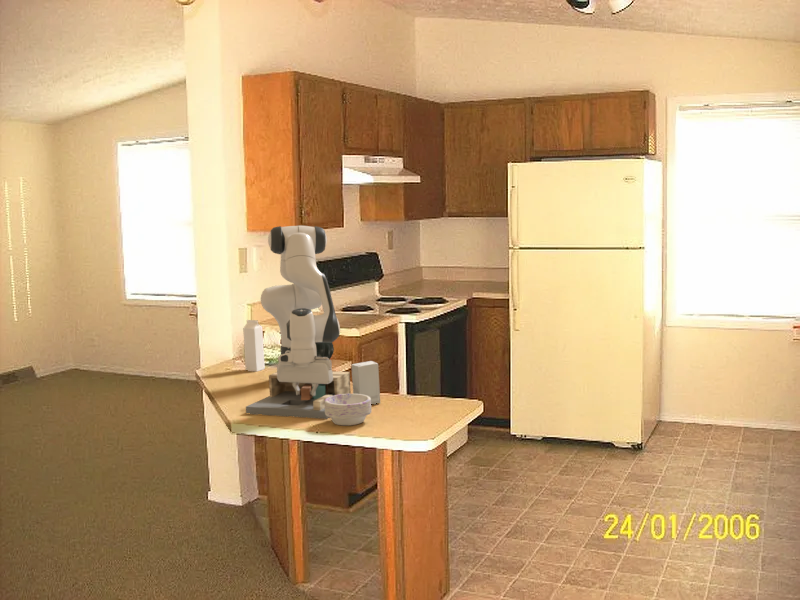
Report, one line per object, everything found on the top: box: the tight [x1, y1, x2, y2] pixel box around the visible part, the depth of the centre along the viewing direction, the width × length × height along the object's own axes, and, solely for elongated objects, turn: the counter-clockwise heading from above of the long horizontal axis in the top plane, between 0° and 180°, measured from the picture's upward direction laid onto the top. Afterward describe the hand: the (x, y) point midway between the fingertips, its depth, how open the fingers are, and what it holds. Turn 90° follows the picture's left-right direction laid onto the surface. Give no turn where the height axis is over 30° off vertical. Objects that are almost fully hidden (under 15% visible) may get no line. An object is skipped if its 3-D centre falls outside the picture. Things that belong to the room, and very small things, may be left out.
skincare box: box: [351, 360, 381, 405], centre depth 304 cm, size 8×6×15 cm
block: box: [312, 384, 326, 399], centre depth 308 cm, size 4×4×4 cm
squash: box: [315, 342, 335, 360], centre depth 389 cm, size 14×15×15 cm
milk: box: [242, 319, 266, 372], centre depth 375 cm, size 6×6×22 cm
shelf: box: [268, 370, 352, 397], centre depth 311 cm, size 11×27×8 cm, turn 69°
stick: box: [313, 395, 333, 410], centre depth 293 cm, size 10×2×3 cm, turn 159°
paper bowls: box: [324, 393, 372, 426], centre depth 281 cm, size 15×15×8 cm
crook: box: [301, 383, 328, 400], centre depth 304 cm, size 16×8×4 cm, turn 0°
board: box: [245, 391, 335, 420], centre depth 304 cm, size 26×31×2 cm
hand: (305, 395), depth 298 cm, fingers closed on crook, 4 cm apart
